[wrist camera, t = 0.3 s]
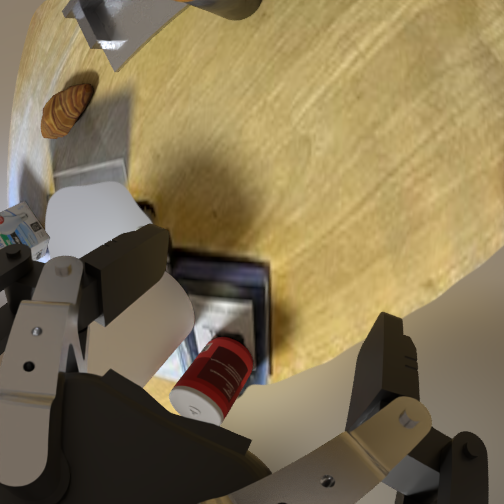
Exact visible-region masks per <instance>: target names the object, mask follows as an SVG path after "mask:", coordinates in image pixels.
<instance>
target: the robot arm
mask: <svg viewBox="0 0 504 504" xmlns="http://www.w3.org/2000/svg"><path fill="white" fill-rule="evenodd" d="M168 243H169V232H168V230H166V229H164V228H161V227H158V226H156V225H153V224H147V225H145V226H143V227H142V228H140V229H138V230H136V231H131V232H127V233H123V234H121V235H119V236H117V237H115V238H114V239H112V241H108V242H107V243H105V244H104V245H101V246H100V247H98V248H97V249H95V250H93V251H91V252H90V253H88V254H86V255H85V256H83V257H81V258H80V259H78V258H76V257H72V256H59V257H55V258H53V259H51V260H49V261H48V262H47V263H42V262H38V261H34V260H33V259H32V252H31V248H30V247H29V246H27V245H25V244H11V245H8V246H6V247H4V248H2V249H0V292H1V291H2V290H5V294H6V297H7V301H8V303H6V304H5V305H4V306H2V307H1V308H0V355H1V354H2V353H3V352H4V351H5V353H4V356H3V360H2V363H1V367H0V504H355V503H356V502H357V501H358V500H360V499H361V498H362V497H363V496H365V495H366V494H367V493H368V492H369V491H371V490H372V489H373V488H374V487H375V486H376V485H377V484H379V482H383V483H385V484H386V485H388V486H390V487H392V488H393V489H395V490H397V494H396V499H395V504H488V459H487V458H488V457H487V450H486V447H485V445H484V443H483V442H482V440H481V439H480V438H479V437H478V436H476V435H475V434H473V433H471V432H467V431H464V432H460V433H458V434H457V435H456V436H455V437H454V438H453V439H451V438H450V437H448V436H446V435H444V434H443V433H441V432H439V431H438V430H436V429H434V428H433V427H432V420H431V415H430V413H429V411H428V410H427V408H426V407H425V406H424V405H423V404H422V403H421V402H420V397H419V377H418V371H417V370H418V363H417V362H416V361H417V353H416V347H415V345H414V344H413V342H412V340H411V338H410V337H409V336H406V335H403V321H402V319H401V318H399V317H396V316H393V315H391V314H388V313H385V312H381V313H380V314H379V316H378V318H377V320H376V321H375V323H374V325H373V327H372V329H371V331H370V332H369V334H368V336H367V338H366V339H365V341H364V343H363V345H362V347H361V349H360V352H359V354H358V357H357V362H356V370H355V376H354V382H353V389H352V395H351V401H350V406H349V412H348V418H347V423H346V428H345V432H343V433H341V434H339V435H338V436H336V437H335V438H333V439H332V440H330V441H328V442H327V443H325V444H324V445H322V446H320V447H319V448H317V449H316V450H314V451H312V452H310V453H309V454H307V455H305V456H304V457H302V458H300V459H298V460H297V461H295V462H293V463H291V464H289V465H288V466H286V467H284V468H282V469H280V470H279V471H277V472H275V473H273V474H272V472H271V471H270V469H269V468H268V467H267V466H266V465H265V464H264V463H263V462H262V461H261V460H260V459H259V458H258V457H257V456H255V455H254V454H253V453H251V452H250V451H248V448H249V446H250V443H251V441H252V440H251V439H248V438H246V437H243V436H241V435H238V434H236V433H234V432H231V431H229V430H227V429H224V428H222V427H220V426H218V425H215V424H212V423H208V422H204V421H199V420H195V419H191V418H187V417H183V416H179V415H176V414H173V413H170V412H169V411H167V410H166V409H165V408H164V407H163V406H162V405H161V404H159V403H158V402H157V401H156V400H155V399H154V398H153V397H152V396H151V395H149V394H148V393H147V392H146V391H145V390H144V389H143V388H142V387H141V386H139V385H137V384H136V383H134V382H132V381H130V380H129V379H127V378H125V377H124V376H122V375H120V374H119V373H117V372H116V371H114V370H112V369H111V368H110V369H109V370H108V371H107V372H106V373H105V374H104V375H103V376H100V375H96V374H91V373H87V362H88V349H89V337H90V324H91V323H92V322H93V321H95V322H97V323H99V324H100V325H102V326H103V327H106V326H107V325H108V324H110V323H111V322H112V321H113V320H114V319H115V318H116V317H118V316H119V315H120V314H121V313H122V312H123V311H125V310H126V309H127V308H128V307H129V306H130V305H131V304H133V303H134V302H135V301H136V300H137V299H139V298H140V297H141V296H142V295H143V294H144V293H146V292H147V291H148V290H149V289H150V288H151V287H153V286H154V285H155V284H156V283H157V282H159V281H160V279H161V278H162V276H163V275H164V272H165V269H166V263H167V253H168Z"/></svg>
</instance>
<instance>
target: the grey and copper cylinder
mask: <svg viewBox="0 0 504 504" xmlns="http://www.w3.org/2000/svg"><path fill="white" fill-rule="evenodd" d="M174 1H177V2H184V3H186V4H189V5H192V6H195V7H198V8H200V9H203V10H206V11H208V12H211V13H214V14H216V15H219V16H221V17H223V18H226V19H229V20H242V19H245V18H247V17H249V16H251V15H252V14H253V13H255V12H256V10H257V9H258V8H259V6H260V4H261V1H262V0H174Z"/></svg>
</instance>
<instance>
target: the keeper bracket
mask: <svg viewBox="0 0 504 504" xmlns="http://www.w3.org/2000/svg"><path fill="white" fill-rule="evenodd" d="M189 6H190V5H189V4H186V3H184V2H177V1H174V0H70V1H69V3H68V4H67V5H66V7H65V8H64V9H63V11H62V12H63V15H64V17H65V18H76V19H77V22H78V24H79V26H80V28H81V30H82V32H83V34H84V36H85V38H86V40H87V42H88V44H89V47H90V49H103V50H104V52H105V54H106V56H107V58H108V60H109V62H110V64H111V66H112V68H113V70H114V72H119V71H120V69H121V68H122V67H123V66H124V65H125V64H126V63H127V62H128V61H129V60H130V59H131V58H132V57H133V56H134V55H135V54H136V53H137V52H138V51H139V50H140V49H141V48H142V47H143V46H144V45H146V44H147V43H148V42H149V41H150V40H151V39H152V38H153V37H154V36H155V35H156V34H157V33H159V32H160V31H161V30H162V29H163V28H164V27H165V26H166V25H168V24H169V23H170V22H171V21H172V20H173V19H175V18H176V17H177V16H178V15H179V14H181V13H182V12H183V11H184V10H185V9H187V8H188V7H189Z"/></svg>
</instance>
